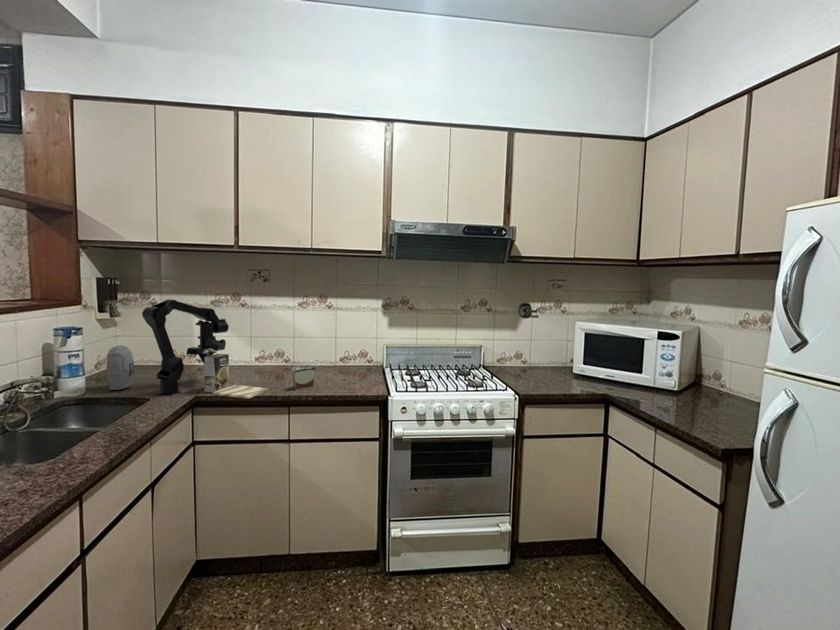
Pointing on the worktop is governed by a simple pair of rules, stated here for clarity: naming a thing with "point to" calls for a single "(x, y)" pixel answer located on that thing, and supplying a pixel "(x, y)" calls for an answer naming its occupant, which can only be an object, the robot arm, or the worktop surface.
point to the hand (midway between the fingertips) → (206, 366)
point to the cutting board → (240, 391)
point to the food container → (303, 376)
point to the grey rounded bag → (120, 368)
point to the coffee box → (216, 372)
